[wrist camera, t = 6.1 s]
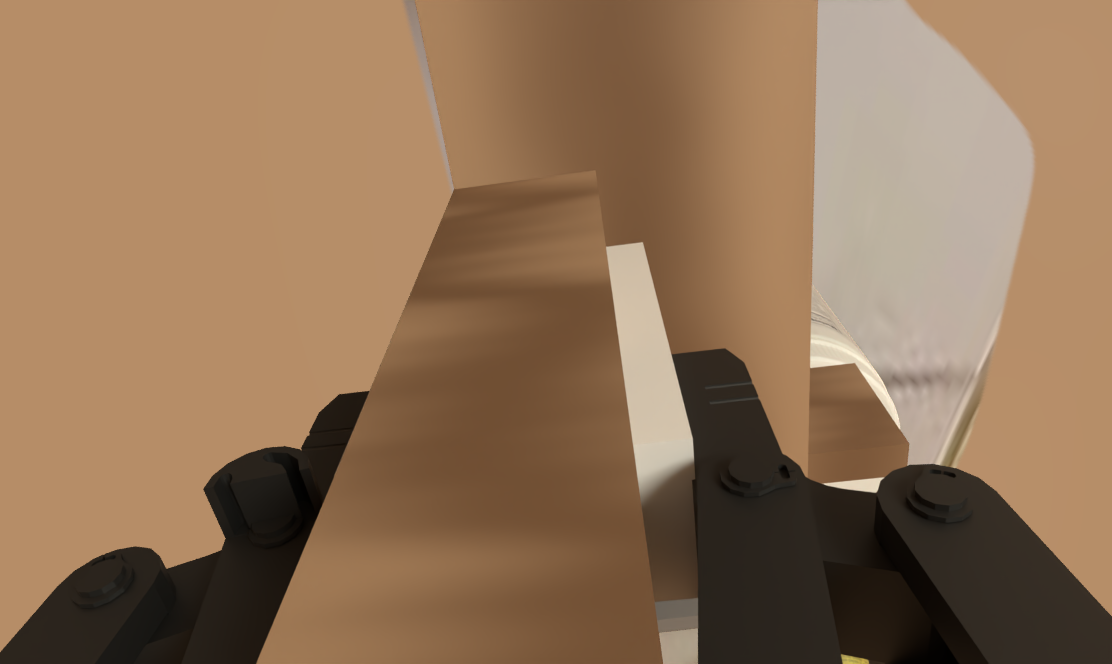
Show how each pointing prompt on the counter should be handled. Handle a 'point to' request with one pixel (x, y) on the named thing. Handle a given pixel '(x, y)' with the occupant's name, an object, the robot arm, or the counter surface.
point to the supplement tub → (838, 349)
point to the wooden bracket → (574, 329)
